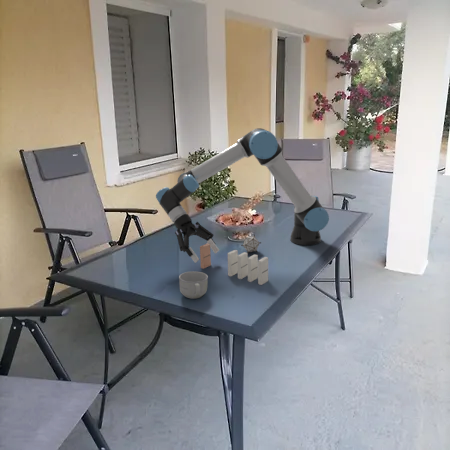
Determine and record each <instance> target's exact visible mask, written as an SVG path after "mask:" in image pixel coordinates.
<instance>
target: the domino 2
mask: <svg viewBox="0 0 450 450" xmlns="http://www.w3.org/2000/svg"><path fill="white" fill-rule="evenodd" d="M238 255H239V252H238V250H237V249H233V250H231V251H229V252H227V275H228V276H229V277H234V275H236V274H237V275H238V264H237V256H238Z"/></svg>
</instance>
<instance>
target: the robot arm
mask: <svg viewBox="0 0 450 450" xmlns="http://www.w3.org/2000/svg"><path fill="white" fill-rule="evenodd" d="M252 156H254V157H255V159H256V160H257V162H258V163H259V164H260V165H261V166H264V167H266V169H268V171H269V172H270V174H271V175H272V177H273V178H274V179H275V181H276V182H277V183H278V185H279V186H280V188H281V189H282V191H284V194H286V196H287V198H288V200H290V202H291V203H292V204H293V206H294V210H293V211H294V212H293V213H294V215H293V216H294V219H293V220H294V224H293V225H294V226H293V228H292V230H291V233H290V242H291V243H292V244H296V245H300V246H311V245H312V246H313V245H314V246H315V245H318V244H320V243H321V240H322V239H321V238H322V237H321V233H320V231H322V230H324V229H325V228H326V227H327V225H328V223H329V220H330V216H329V213H328V210H326V209H325V208H324V207H323V206H322V204H321V203H320V201H319V197H318V196H317V195H310V193H309V191H308V190H307V188H306V187H305V186H304V185H303V183H302V182H301V180H300V179H299V177H298V176H297V175H296V173H295V171H294V169H293V168H292V167H291V166H290V164H289V162H287V160H286V159H285V157H284V155H283V148H282V147H281V145H280V143H278V140H277V137H276V136H275V135H274V134H273V132H271V131H269V130H267V129H264V128H254V129H252V130H250V131H249V132H248V133H246V134H245V135H243V136H241V137H240V138H238V139H237V141H236V143H234V144H233V145H230V146H229V147H228V148H226V149H224V150H223V151H220V152H218V153H217V154H215V155H214V156H211V157H210V158H209V159H207V160H205V161H204V162H202V163H201V164H198V165H197V166H195V167H193V168H191V169H190V170H188V171H186V172H183V173H181V174H180V175H179V176H178V177H177V183H176V184H175V185H173V186H172V187H171V188H170V187H167V186H166V187H162V189H160V190H159V191H157V193H156V195H155V199H156V201H157V202H158V204H159V205H160V207H162V209H163V210H164V212H165V213H166V215H167V216H168V218H169V219H170V220H171V222H172V223H173V225H174V226H175V228H176V231H175V232H174V234H175V236H176V238H177V242H178V247H179V251H180V252H183V253H186V254H187V256H188V257H190V258H191V260H192V261H193V262H194V264H196V263H197V262H198V261H200V258H199V257H198V255H197V253H196V252H195V251H194V250H193V248H192V247H191V246H190V237H191V236H198V237H200V238H201V239H203V240H204V241H206V244H207V243H208V244H210V250H212V251H213V253H214V254H217V253H218V252H219V251H220V248H219V247H218V246H217V244H216V243H215V240H214V239H213V237H214V234H213V233H212V232H211V231H209V230H208V229H206V228H205V227H204V226H203V225H201V224H200V222H198V221H196V222H195V223H193V221H192V218H191V216H190V215H189V214H188V213H187V210H186V209H184V207H183V206H182V204H181V203H182V202H183V201H184V200H185V199H187V197H190V196H191V194H193V193H195V192H196V191H197V189H199V188H200V184H201V183H203V182H204V181H206V180H207V179H209V178H211V177H212V176H215V175H216V174H218V173H220V172H221V171H223V170H225V169H227V168H228V167H230V166H232V165H233V164H235V163H237V162H239V161H241V160H242V159H244V158H250V157H252Z"/></svg>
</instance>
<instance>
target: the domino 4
mask: <svg viewBox="0 0 450 450" xmlns="http://www.w3.org/2000/svg"><path fill="white" fill-rule="evenodd" d="M258 256H259V255H258V254H253V255H251V256H248V258H247V263H248V275H247V282H250V283H253V281H255V280H258V260H259V257H258Z"/></svg>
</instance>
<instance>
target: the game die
mask: <svg viewBox="0 0 450 450" xmlns="http://www.w3.org/2000/svg"><path fill="white" fill-rule="evenodd" d="M260 244H262V242H261V241H260V242H259V240H258V239H257V238H256V235H255V234H254V235H252V236H246V235H245V236H244V241H243V244H241V245H240V247H243V248H244V250H245V251H246V253H248V254H249V253H253V252H256V253H258V248H259V246H260Z"/></svg>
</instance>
